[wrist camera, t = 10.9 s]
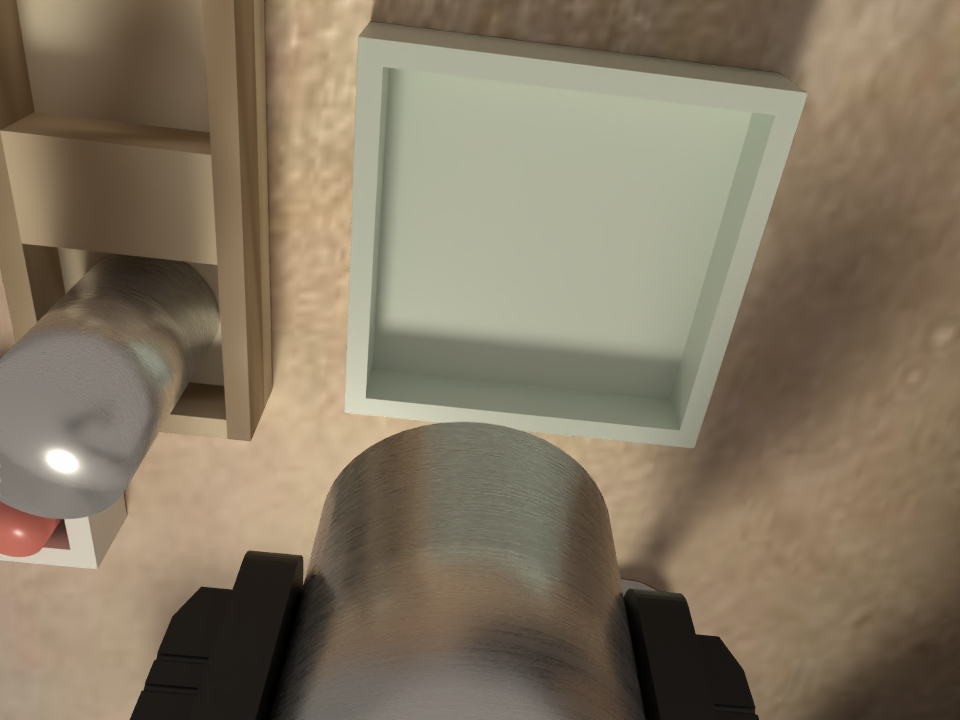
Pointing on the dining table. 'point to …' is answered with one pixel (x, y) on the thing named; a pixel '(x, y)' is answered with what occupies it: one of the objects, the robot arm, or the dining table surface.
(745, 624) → the dining table surface
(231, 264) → the pocket board
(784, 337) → the dining table surface
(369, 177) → the square tray frame
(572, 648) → the cylinder
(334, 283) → the dining table surface
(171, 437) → the dining table surface
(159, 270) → the cylinder
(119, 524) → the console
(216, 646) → the robot arm
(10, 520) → the button
